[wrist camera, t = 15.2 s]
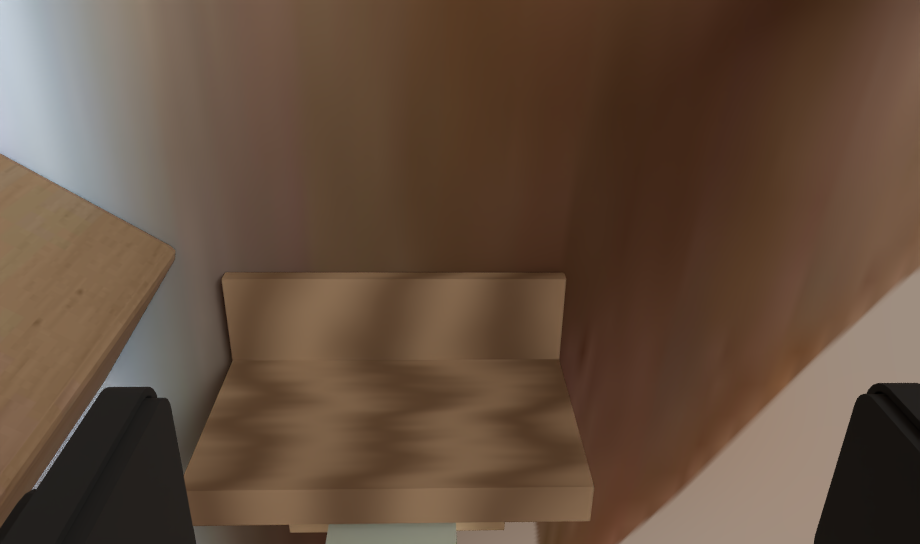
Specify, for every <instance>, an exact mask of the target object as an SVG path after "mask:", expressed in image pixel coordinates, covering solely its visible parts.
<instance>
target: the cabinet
mask: <svg viewBox="0 0 920 544" xmlns="http://www.w3.org/2000/svg"><path fill="white" fill-rule="evenodd" d="M326 544H457V539H456V523H389V524H329V526H328V532H327V538H326Z"/></svg>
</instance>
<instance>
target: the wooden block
mask: <svg viewBox="0 0 920 544" xmlns="http://www.w3.org/2000/svg"><path fill="white" fill-rule="evenodd" d="M174 260H175V250H174V249H173V248H172V247H171V246H170V245H168V244H166V243H164V242H162V241H160V240H159V239H157V238H155V237H153V236H151V235H149V234H148V233H146V232H144V231H142V230H140V229H138V228H137V227H135V226H133V225H131V224H129V223H127V222H125V221H124V220H122V219H120V218H118V217H116V216H114V215H113V214H111V213H109V212H107V211H105V210H103V209H101V208H100V207H98V206H96V205H94V204H92V203H90V202H89V201H87V200H85V199H83V198H81V197H79V196H78V195H76V194H74V193H72V192H70V191H68V190H66V189H65V188H63V187H61V186H59V185H57V184H55V183H54V182H52V181H50V180H48V179H46V178H44V177H43V176H41V175H39V174H37V173H35V172H33V171H31V170H30V169H28V168H26V167H24V166H22V165H20V164H19V163H17V162H15V161H13V160H11V159H9V158H7V157H6V156H4V155H2V154H0V528H1V526H2V525H3V523H4V522H5V520H6V519H7V517H8V516H9V514H10V513H11V511H12V510H13V508H14V507H15V505H16V504H17V503H18V502H19V500H20V499H21V498H22V497H23V496H24V495H25V494H26V493H28V492H29V491H31V489H32V488H33V487H34V485H35V484H36V482H37V481H38V479H39V478H40V476H41V475H42V473H43V472H44V470H45V469H46V467H47V466H48V464H49V463H50V461H51V460H52V458H53V457H54V455H55V454H56V452H57V451H58V449H59V448H60V446H61V445H62V443H63V442H64V440H65V439H66V437H67V436H68V434H69V433H70V432H71V430H72V429H73V427H74V426H75V424H76V423H77V421H78V420H79V418H80V417H81V415H82V414H83V412H84V411H85V409H86V408H87V406H88V405H89V403H90V402H91V400H92V399H93V397H94V396H95V394H96V393H97V391H98V390H99V388H100V387H101V385H102V384H103V382H104V381H105V379H106V378H107V376H108V374H109V372H110V371H111V369H112V367H113V365H114V364H115V362H116V360H117V358H118V357H119V355H120V353H121V352H122V350H123V348H124V346H125V345H126V343H127V341H128V339H129V338H130V336H131V334H132V332H133V331H134V329H135V327H136V326H137V324H138V322H139V320H140V319H141V317H142V315H143V313H144V312H145V310H146V308H147V306H148V305H149V303H150V301H151V300H152V298H153V296H154V294H155V293H156V291H157V289H158V287H159V286H160V284H161V282H162V280H163V279H164V277H165V275H166V274H167V272H168V270H169V268H170V267H171V265H172V263H173V261H174Z"/></svg>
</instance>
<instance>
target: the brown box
mask: <svg viewBox="0 0 920 544" xmlns="http://www.w3.org/2000/svg"><path fill="white" fill-rule="evenodd" d="M222 286H223V293H224V300H225V308H226V315H227V322H228V330H229V337H230V344H231V352H232V359H233V361H232V363H231V366H230V368H229V370H228V373H227V375H226V377H225V380H224V382H223V384H222V387H221V389H220V392H219V394H218V396H217V399H216V401H215V403H214V406H213V408H212V410H211V413H210V415H209V417H208V420H207V422H206V424H205V427H204V429H203V431H202V434H201V436H200V439H199V441H198V443H197V446H196V448H195V450H194V453H193V455H192V457H191V460H190V462H189V464H188V467H187V469H186V471H185V474H184V481H185V486H186V491H187V497H188V502H189V508H190V513H191V518H192V524H193V526H224V525H289V528H290V533H301V532H328V526H329V524H389V523H456V531H458V530H460V531H461V530H504V524H505V522H554V521H590V516H591V508H592V500H593V492H594V484H593V481H592V477H591V473H590V470H589V466H588V463H587V459H586V455H585V452H584V448H583V444H582V441H581V437H580V433H579V430H578V426H577V423H576V419H575V415H574V412H573V408H572V404H571V401H570V397H569V394H568V390H567V386H566V383H565V379H564V375H563V372H562V368H561V364H560V361H559V354H560V343H561V332H562V321H563V309H564V298H565V287H566V277H565V274H564V273H479V272H225V274H224V276H223V278H222Z"/></svg>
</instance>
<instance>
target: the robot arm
mask: <svg viewBox="0 0 920 544" xmlns="http://www.w3.org/2000/svg"><path fill="white" fill-rule="evenodd" d="M0 544H196V540H195V535H194V529H193V524H192V518H191V513H190V508H189V502H188V497H187V491H186V486H185V481H184V475H183V470H182V464H181V459H180V453H179V448H178V443H177V437H176V432H175V426H174V421H173V416H172V410H171V406H170V402H169V401H168V399H166V398H157V395H156V393H155V391H154V389H153V388H151V387H108V388H105V389H104V390H103V391H102V392H101V393H100V394H99V396H98V397H97V399H96V401H95V402H94V404H93V405H92V407H91V408H90V410H89V411H88V413H87V414H86V416H85V417H84V419H83V420H82V422H81V423H80V425H79V426H78V428H77V429H76V431H75V432H74V434H73V435H72V437H71V438H70V440H69V441H68V443H67V444H66V446H65V447H64V449H63V450H62V452H61V453H60V455H59V456H58V458H57V459H56V461H55V462H54V464H53V465H52V467H51V468H50V470H49V471H48V473H47V474H46V476H45V477H44V479H43V480H42V482H41V483H40V485H39V486H38V488H37V489H33V490H31V491H29V492H28V493H26V494H25V495H24V496H23V497H22V498H21V499H20V500H19V502H18V503H17V504H16V505H15V507H14V508H13V510H12V511H11V513H10V514H9V516H8V517H7V519H6V520H5V522H4V523H3V525H2V526H1V528H0ZM814 544H920V384H918V383H877V384H874V385H872V386H871V388H870V389H869V390H868V392H867V394H863V395H860V396H859V397H858V398H857V400H856V402H855V405H854V408H853V412H852V415H851V418H850V422H849V425H848V428H847V432H846V435H845V439H844V441H843V445H842V448H841V452H840V455H839V458H838V461H837V465H836V468H835V472H834V475H833V478H832V481H831V485H830V488H829V491H828V495H827V498H826V501H825V504H824V508H823V511H822V515H821V518H820V521H819V524H818V528H817V531H816V534H815V539H814Z"/></svg>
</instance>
